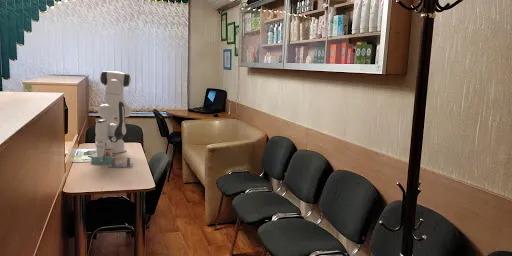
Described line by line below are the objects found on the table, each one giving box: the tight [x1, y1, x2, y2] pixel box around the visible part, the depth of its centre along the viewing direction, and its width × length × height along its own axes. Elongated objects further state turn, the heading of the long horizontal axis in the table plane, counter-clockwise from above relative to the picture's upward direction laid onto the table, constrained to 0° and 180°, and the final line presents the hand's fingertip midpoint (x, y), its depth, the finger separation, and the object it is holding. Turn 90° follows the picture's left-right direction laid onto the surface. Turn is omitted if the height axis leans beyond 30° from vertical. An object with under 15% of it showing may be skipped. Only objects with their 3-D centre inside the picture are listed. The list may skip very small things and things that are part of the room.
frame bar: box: [90, 155, 113, 165], centre depth 299 cm, size 2×14×5 cm, turn 103°
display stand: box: [108, 157, 134, 169], centre depth 294 cm, size 10×16×6 cm, turn 104°
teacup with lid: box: [104, 145, 117, 158], centre depth 311 cm, size 12×9×12 cm
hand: (101, 160), depth 299 cm, fingers closed on frame bar, 2 cm apart
